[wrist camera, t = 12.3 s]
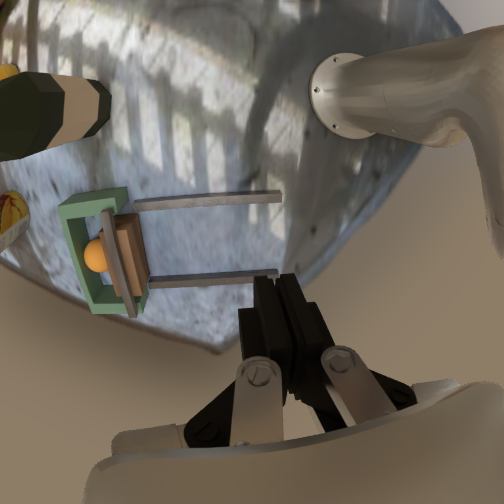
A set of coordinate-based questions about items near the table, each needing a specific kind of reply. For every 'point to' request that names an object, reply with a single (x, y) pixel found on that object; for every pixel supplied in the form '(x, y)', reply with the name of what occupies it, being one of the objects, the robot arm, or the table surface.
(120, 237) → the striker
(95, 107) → the wine bottle
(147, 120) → the table surface
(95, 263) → the ball
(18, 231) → the canned food
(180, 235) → the table surface
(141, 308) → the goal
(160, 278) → the track
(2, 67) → the bread roll
